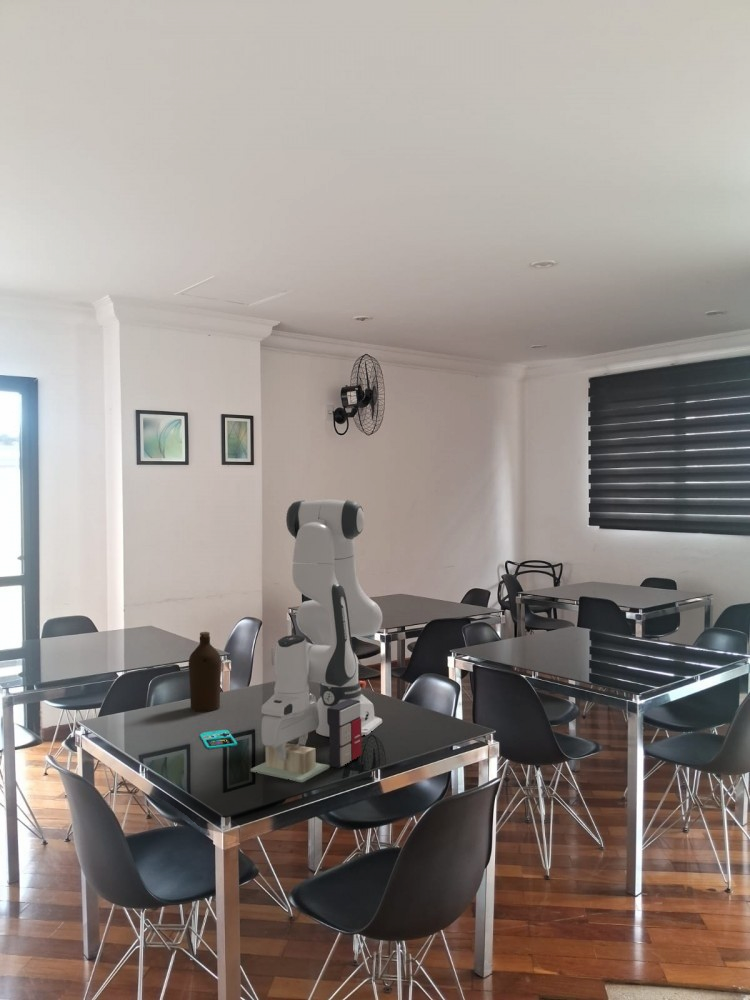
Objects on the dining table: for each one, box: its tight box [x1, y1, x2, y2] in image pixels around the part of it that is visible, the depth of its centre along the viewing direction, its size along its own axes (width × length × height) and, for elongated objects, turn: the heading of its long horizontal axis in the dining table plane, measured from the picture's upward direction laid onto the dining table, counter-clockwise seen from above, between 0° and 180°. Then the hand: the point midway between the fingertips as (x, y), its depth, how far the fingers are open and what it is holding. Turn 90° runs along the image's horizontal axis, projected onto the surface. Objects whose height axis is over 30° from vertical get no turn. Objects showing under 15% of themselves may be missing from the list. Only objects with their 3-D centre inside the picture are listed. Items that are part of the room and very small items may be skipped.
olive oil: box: [188, 631, 222, 713], centre depth 258 cm, size 11×11×25 cm
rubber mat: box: [250, 761, 331, 783], centre depth 199 cm, size 12×16×1 cm
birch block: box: [265, 742, 317, 774], centre depth 199 cm, size 5×5×12 cm
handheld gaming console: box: [199, 729, 238, 750], centre depth 224 cm, size 8×1×15 cm
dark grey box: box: [327, 699, 362, 769], centre depth 204 cm, size 11×4×15 cm, turn 151°
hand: (292, 755), depth 198 cm, fingers open, 6 cm apart
